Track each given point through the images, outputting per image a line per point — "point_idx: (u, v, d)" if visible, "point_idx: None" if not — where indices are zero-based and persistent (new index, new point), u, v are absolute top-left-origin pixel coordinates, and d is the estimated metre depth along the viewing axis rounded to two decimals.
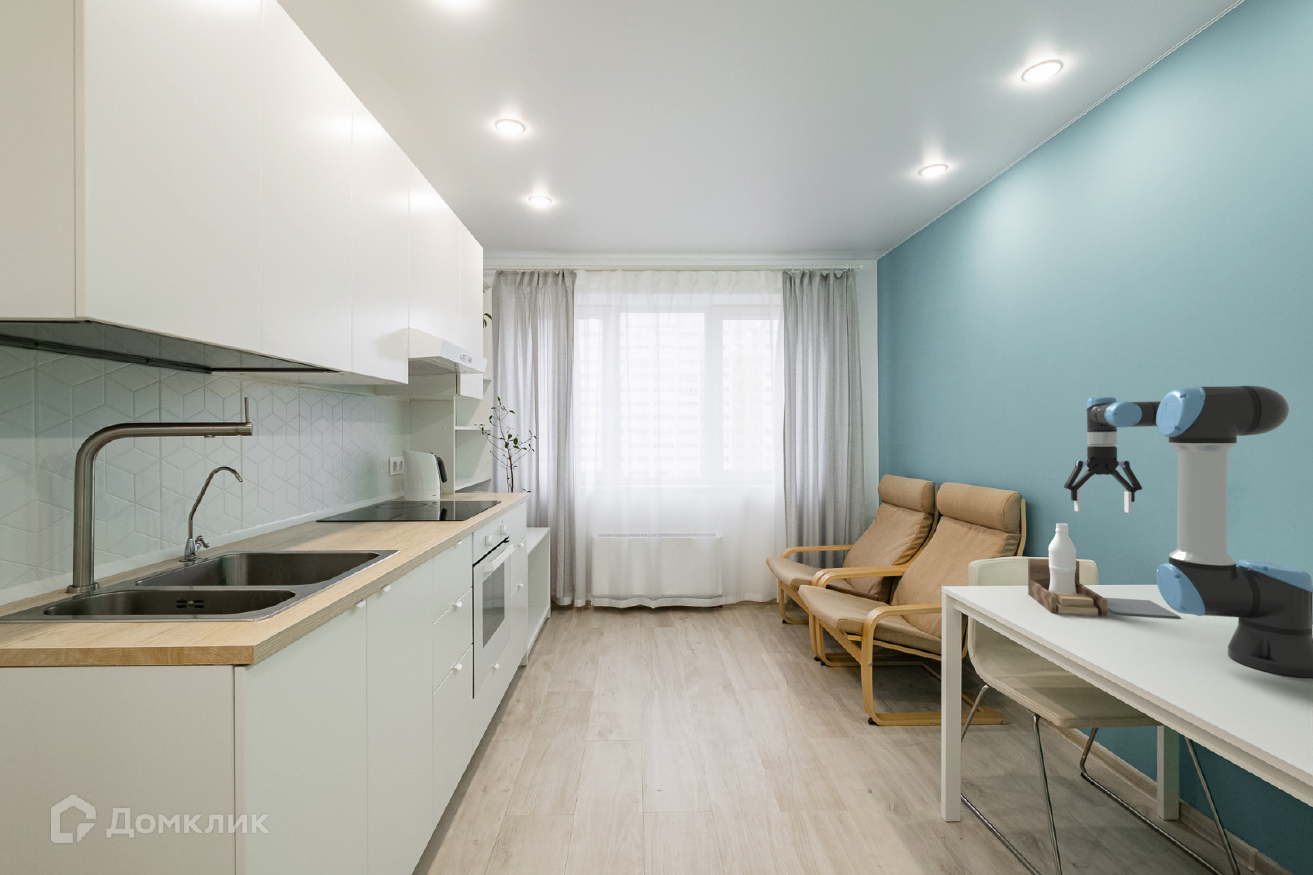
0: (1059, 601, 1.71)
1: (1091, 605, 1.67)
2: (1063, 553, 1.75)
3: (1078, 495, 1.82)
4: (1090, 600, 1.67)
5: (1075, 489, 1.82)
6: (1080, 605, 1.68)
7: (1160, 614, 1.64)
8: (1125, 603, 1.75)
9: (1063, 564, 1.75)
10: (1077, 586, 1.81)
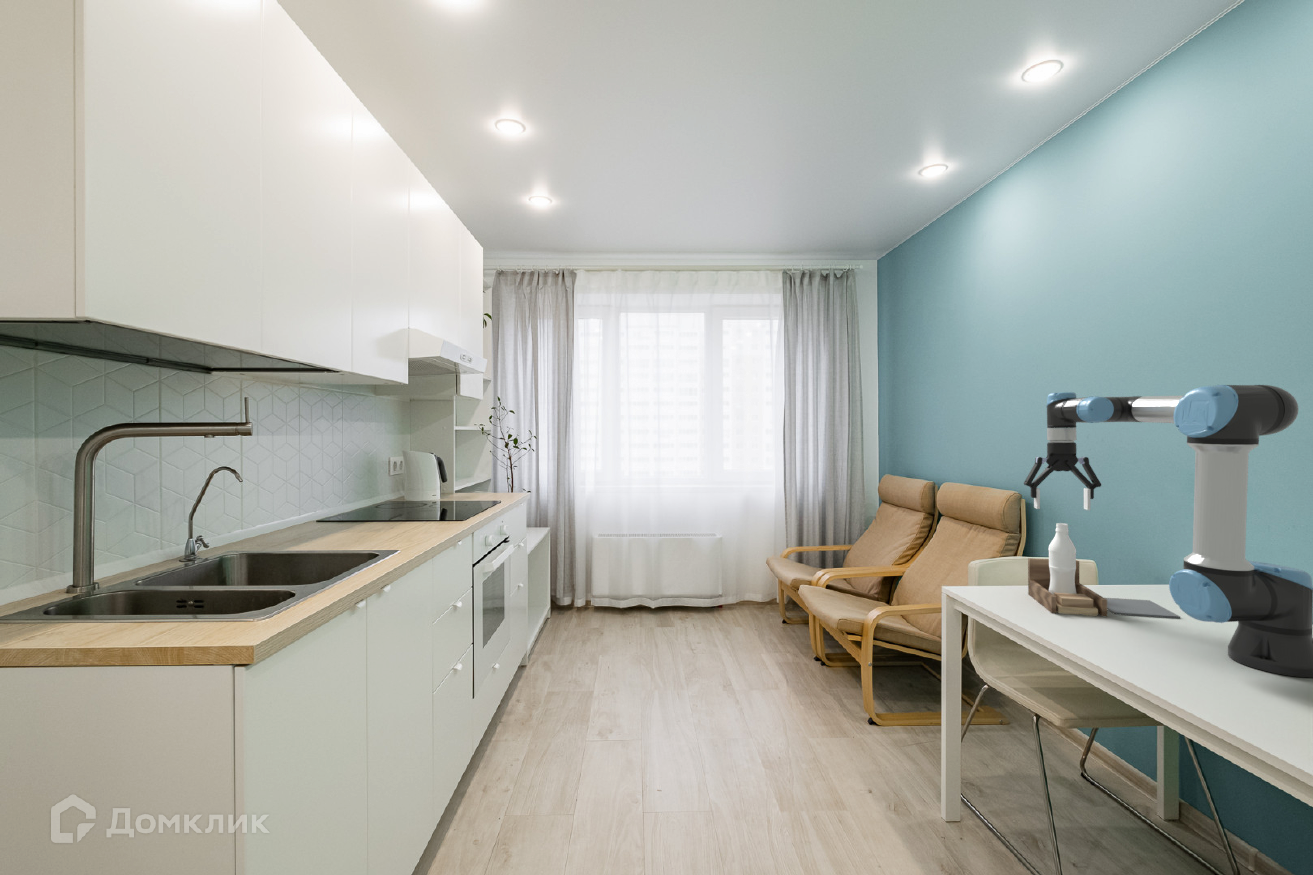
0: (1059, 601, 1.71)
1: (1091, 605, 1.67)
2: (1063, 553, 1.75)
3: (1037, 492, 1.79)
4: (1090, 600, 1.67)
5: (1034, 486, 1.79)
6: (1080, 605, 1.68)
7: (1160, 614, 1.64)
8: (1125, 603, 1.75)
9: (1063, 564, 1.75)
10: (1077, 586, 1.81)
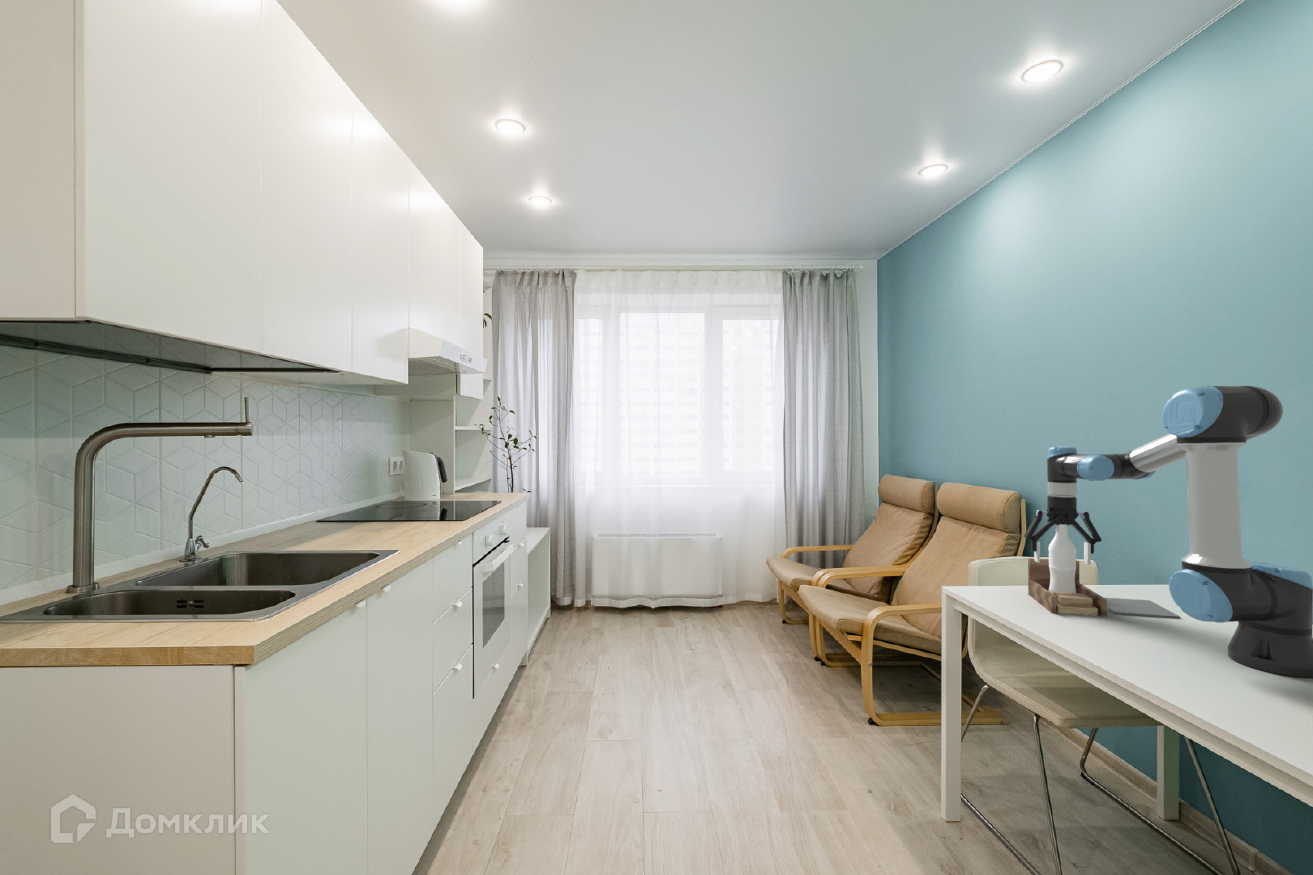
0: (1058, 600, 1.71)
1: (1090, 605, 1.67)
2: (1063, 553, 1.75)
3: (1038, 546, 1.79)
4: (1089, 600, 1.67)
5: (1035, 539, 1.79)
6: (1079, 604, 1.68)
7: (1160, 614, 1.64)
8: (1125, 603, 1.75)
9: (1063, 564, 1.75)
10: (1077, 586, 1.81)
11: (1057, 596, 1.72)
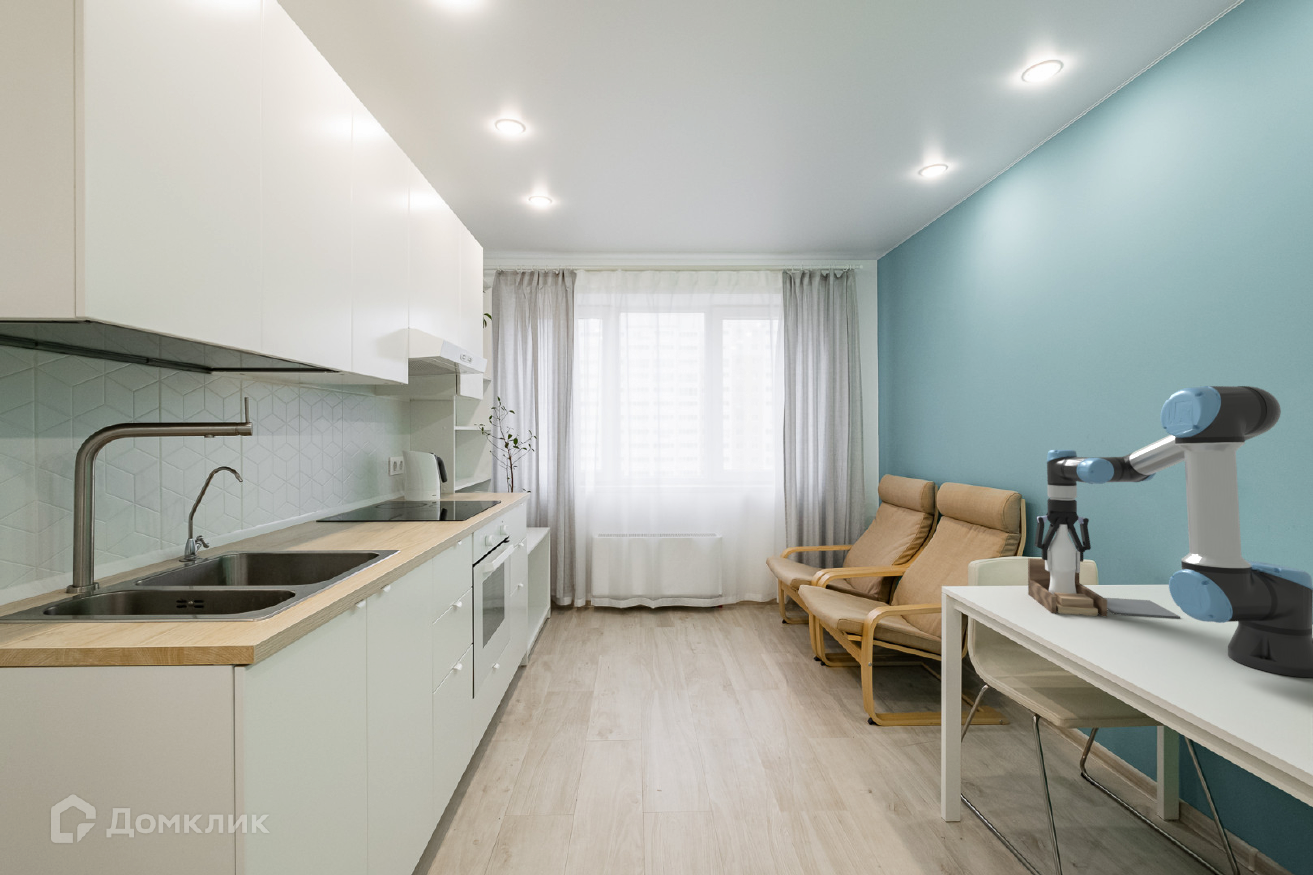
0: (1059, 601, 1.71)
1: (1091, 605, 1.67)
2: (1063, 553, 1.75)
3: (1048, 554, 1.78)
4: (1090, 600, 1.67)
5: (1045, 548, 1.78)
6: (1080, 605, 1.68)
7: (1160, 614, 1.64)
8: (1125, 603, 1.75)
9: (1063, 564, 1.75)
10: (1077, 586, 1.81)
11: (1058, 597, 1.72)
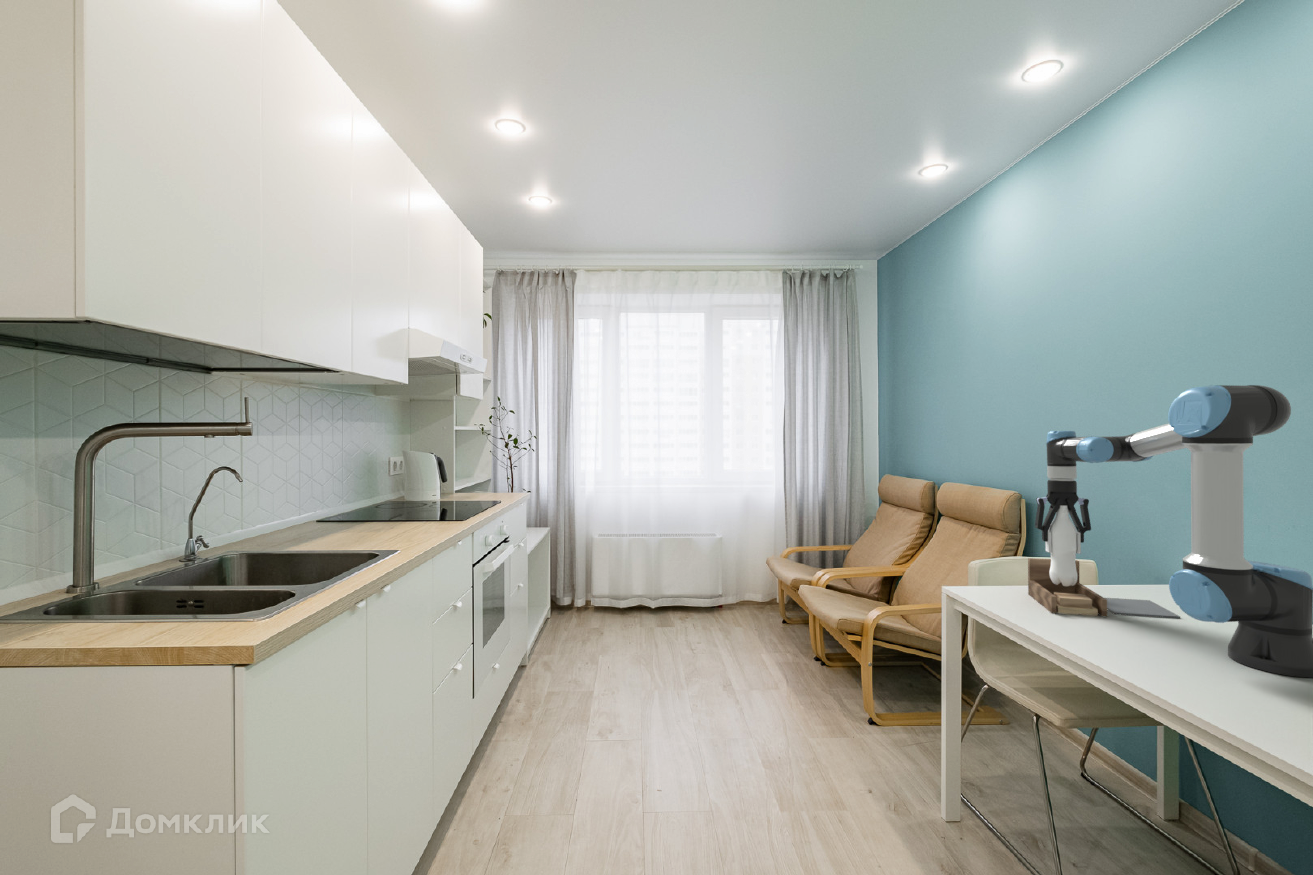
0: (1058, 601, 1.71)
1: (1090, 605, 1.67)
2: (1064, 533, 1.75)
3: (1049, 536, 1.78)
4: (1089, 600, 1.67)
5: (1046, 529, 1.78)
6: (1079, 605, 1.68)
7: (1160, 614, 1.64)
8: (1125, 603, 1.75)
9: (1064, 545, 1.75)
10: (1077, 586, 1.81)
11: (1057, 597, 1.72)
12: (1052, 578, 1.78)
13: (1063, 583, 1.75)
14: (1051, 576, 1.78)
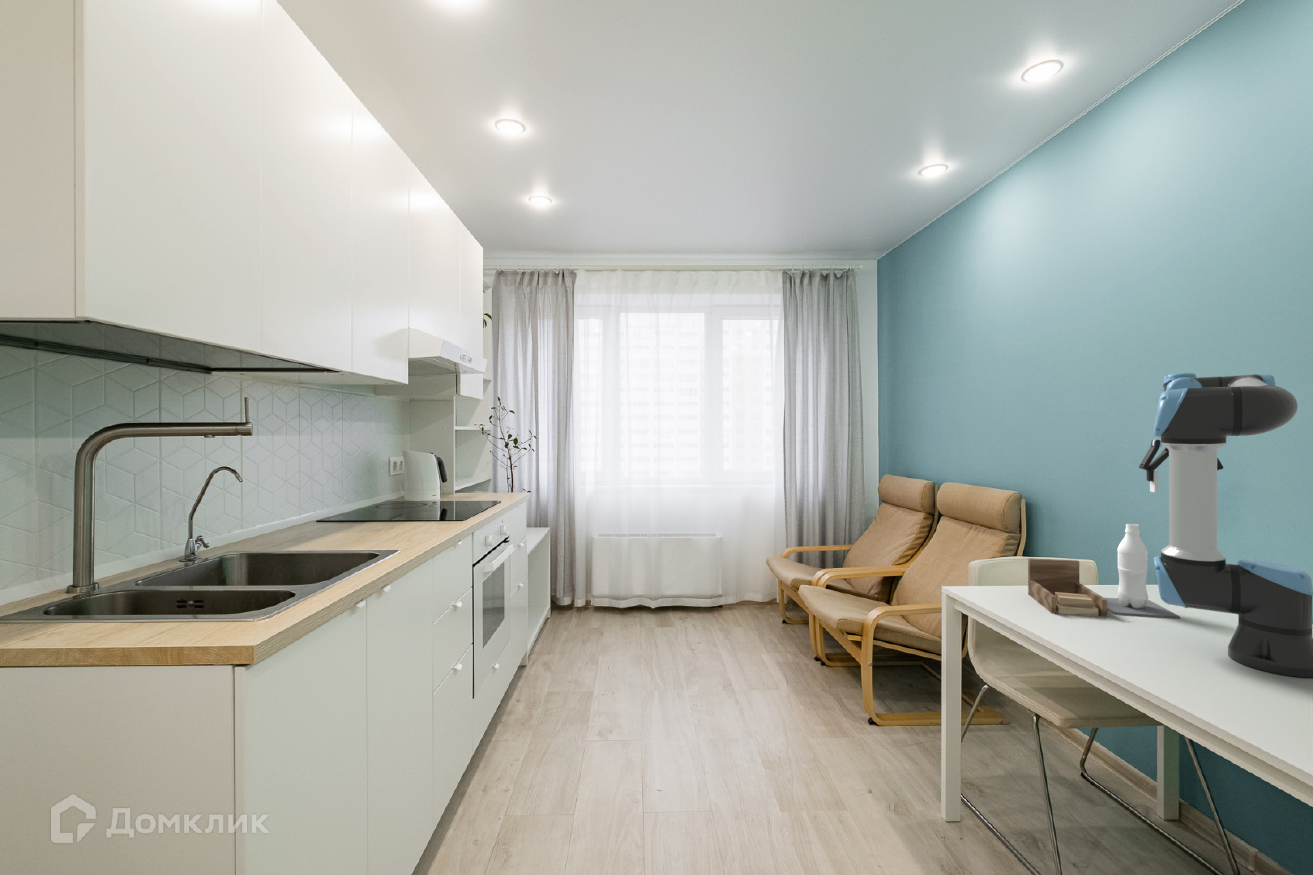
0: (1058, 600, 1.71)
1: (1090, 605, 1.66)
2: (1135, 554, 1.69)
3: (1155, 475, 1.76)
4: (1089, 600, 1.67)
5: (1152, 469, 1.76)
6: (1078, 605, 1.68)
7: (1160, 614, 1.64)
8: None
9: (1135, 566, 1.69)
10: (1077, 586, 1.81)
11: (1057, 596, 1.72)
12: (1121, 600, 1.72)
13: (1133, 605, 1.70)
14: (1120, 597, 1.73)
